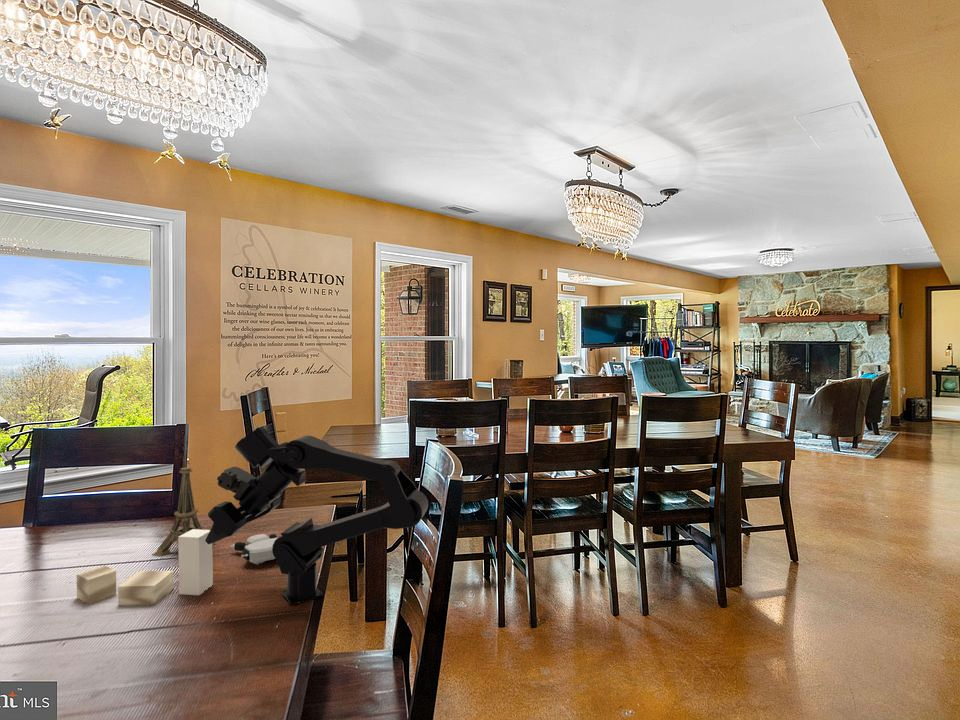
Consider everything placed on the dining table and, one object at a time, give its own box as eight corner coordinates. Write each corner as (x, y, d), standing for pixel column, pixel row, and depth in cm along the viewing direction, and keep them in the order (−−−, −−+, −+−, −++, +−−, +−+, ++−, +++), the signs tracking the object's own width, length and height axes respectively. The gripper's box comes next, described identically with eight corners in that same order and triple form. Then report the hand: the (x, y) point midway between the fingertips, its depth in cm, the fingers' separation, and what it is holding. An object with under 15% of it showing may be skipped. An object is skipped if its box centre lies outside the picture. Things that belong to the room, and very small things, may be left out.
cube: (116, 594, 108) (116, 570, 108) (88, 604, 104) (88, 579, 104) (104, 588, 111) (104, 565, 111) (76, 598, 107) (76, 574, 106)
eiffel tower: (184, 561, 125) (183, 457, 124) (151, 555, 128) (150, 454, 128) (219, 545, 135) (218, 449, 134) (188, 540, 138) (187, 446, 138)
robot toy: (227, 557, 130) (247, 572, 118) (227, 539, 130) (247, 552, 119) (277, 545, 138) (300, 558, 127) (276, 528, 138) (299, 539, 127)
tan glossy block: (173, 589, 111) (173, 570, 111) (155, 605, 104) (154, 585, 104) (139, 590, 111) (138, 571, 111) (118, 606, 104) (118, 586, 104)
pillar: (212, 585, 112) (212, 530, 112) (199, 595, 108) (198, 537, 108) (193, 584, 113) (192, 529, 113) (179, 594, 108) (178, 536, 108)
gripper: (267, 446, 118) (221, 493, 119) (217, 465, 99) (163, 520, 101) (301, 482, 117) (254, 529, 119) (256, 508, 99) (202, 563, 100)
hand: (220, 534), depth 109 cm, fingers open, 9 cm apart
